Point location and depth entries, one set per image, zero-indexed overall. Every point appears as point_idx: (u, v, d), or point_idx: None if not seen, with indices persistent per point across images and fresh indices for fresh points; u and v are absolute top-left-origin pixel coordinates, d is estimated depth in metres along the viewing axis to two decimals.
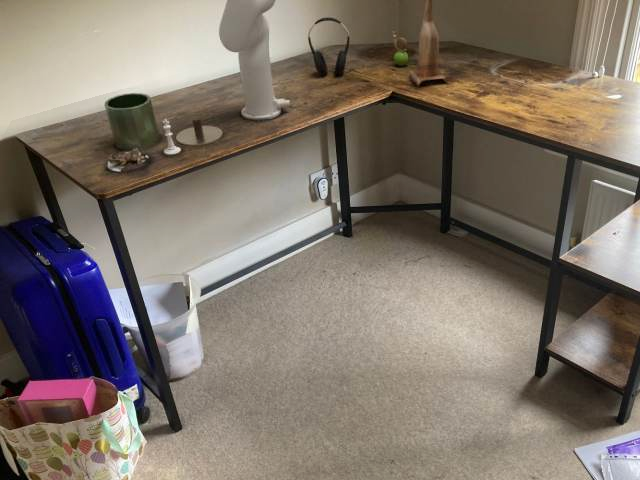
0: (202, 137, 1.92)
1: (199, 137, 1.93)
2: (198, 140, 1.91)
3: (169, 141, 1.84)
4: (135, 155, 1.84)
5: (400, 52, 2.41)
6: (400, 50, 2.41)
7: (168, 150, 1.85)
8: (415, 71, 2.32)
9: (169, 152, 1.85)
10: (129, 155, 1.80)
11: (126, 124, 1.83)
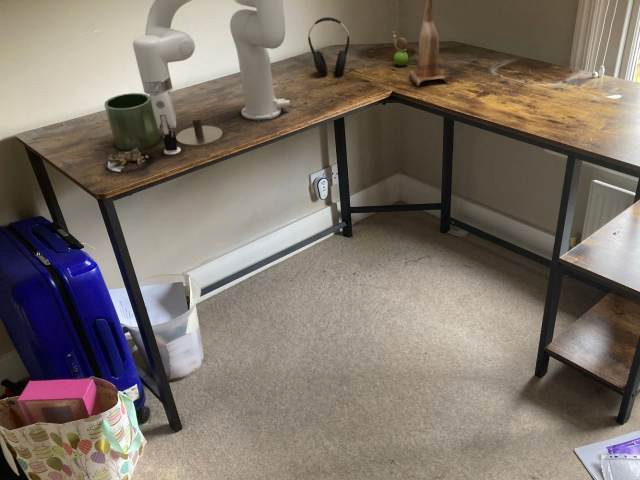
0: (202, 137, 1.92)
1: (199, 137, 1.93)
2: (198, 140, 1.91)
3: None
4: (135, 155, 1.84)
5: (400, 52, 2.41)
6: (400, 50, 2.41)
7: None
8: (415, 71, 2.32)
9: (169, 152, 1.85)
10: (129, 155, 1.80)
11: (126, 124, 1.83)
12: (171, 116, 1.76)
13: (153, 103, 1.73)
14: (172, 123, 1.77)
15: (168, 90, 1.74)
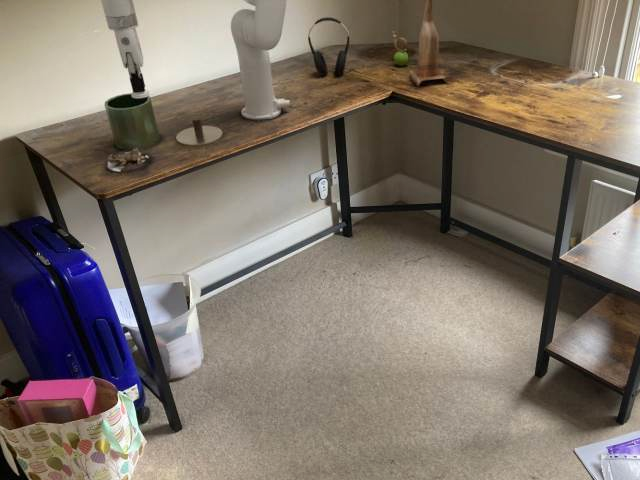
0: (202, 137, 1.92)
1: (199, 137, 1.93)
2: (198, 140, 1.91)
3: None
4: (135, 155, 1.84)
5: (400, 52, 2.41)
6: (400, 50, 2.41)
7: None
8: (415, 71, 2.32)
9: (136, 94, 1.79)
10: (129, 155, 1.80)
11: (126, 124, 1.83)
12: (137, 54, 1.70)
13: (118, 39, 1.68)
14: (138, 61, 1.71)
15: (133, 26, 1.69)
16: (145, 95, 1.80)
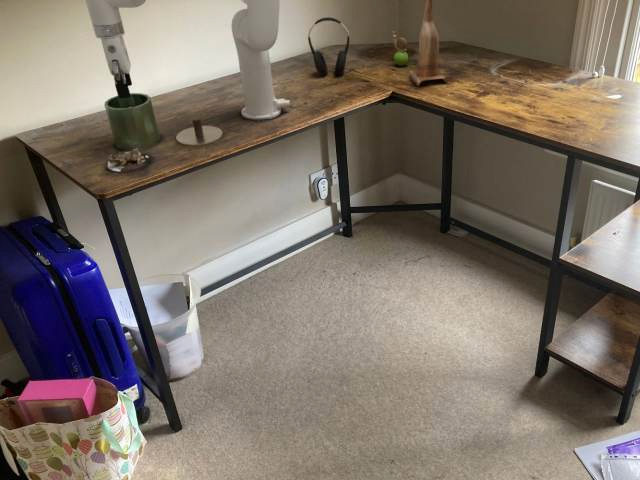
0: (202, 137, 1.92)
1: (199, 137, 1.93)
2: (198, 140, 1.91)
3: None
4: (135, 155, 1.84)
5: (400, 52, 2.41)
6: (400, 50, 2.41)
7: None
8: (415, 71, 2.32)
9: None
10: (129, 155, 1.80)
11: (126, 124, 1.83)
12: (123, 61, 1.75)
13: (104, 47, 1.72)
14: (125, 68, 1.76)
15: (120, 34, 1.73)
16: None
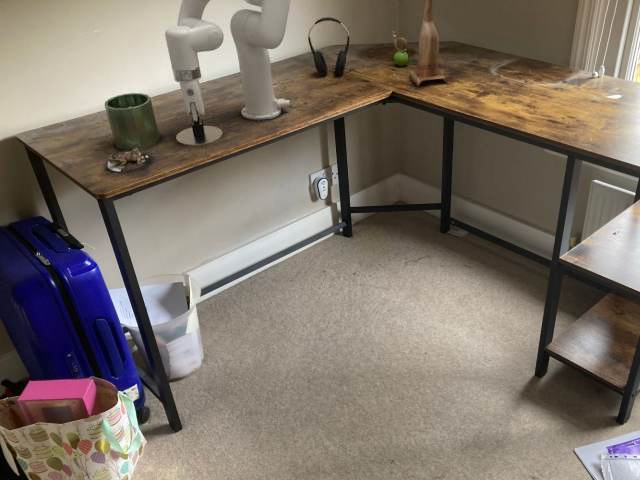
0: (202, 137, 1.92)
1: (199, 137, 1.93)
2: (198, 140, 1.91)
3: None
4: (135, 155, 1.84)
5: (400, 52, 2.41)
6: (400, 50, 2.41)
7: None
8: (415, 71, 2.32)
9: None
10: (129, 155, 1.80)
11: (126, 124, 1.83)
12: (200, 103, 1.84)
13: (183, 91, 1.81)
14: (201, 110, 1.85)
15: (197, 78, 1.82)
16: None
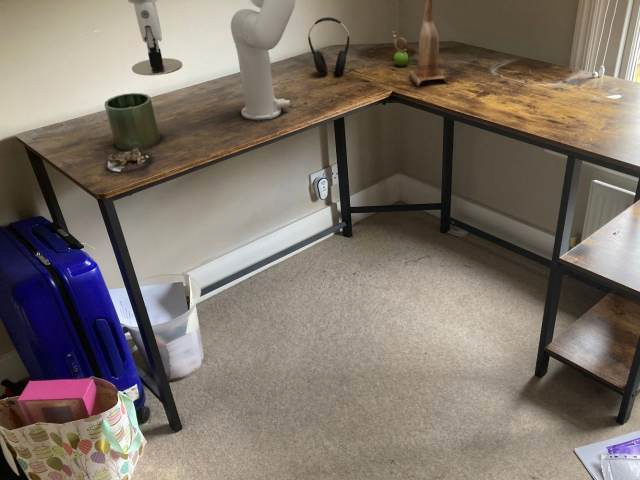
0: (160, 67, 1.79)
1: (157, 67, 1.79)
2: (155, 70, 1.78)
3: None
4: (135, 155, 1.84)
5: (400, 52, 2.41)
6: (400, 50, 2.41)
7: None
8: (415, 71, 2.32)
9: None
10: (129, 155, 1.80)
11: (126, 124, 1.83)
12: (156, 27, 1.71)
13: (138, 12, 1.68)
14: (157, 35, 1.72)
15: (153, 0, 1.69)
16: None
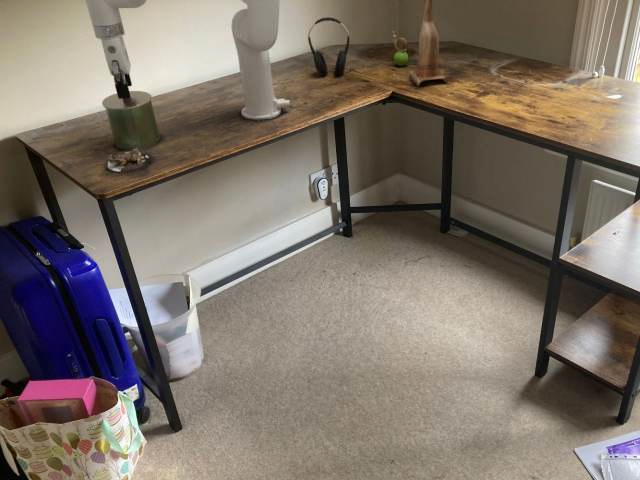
0: (129, 101, 1.84)
1: (126, 101, 1.84)
2: (124, 104, 1.82)
3: None
4: (135, 155, 1.84)
5: (400, 52, 2.41)
6: (400, 50, 2.41)
7: None
8: (415, 71, 2.32)
9: None
10: (129, 155, 1.80)
11: (126, 124, 1.83)
12: (123, 62, 1.75)
13: (104, 48, 1.72)
14: (125, 69, 1.76)
15: (120, 35, 1.73)
16: None
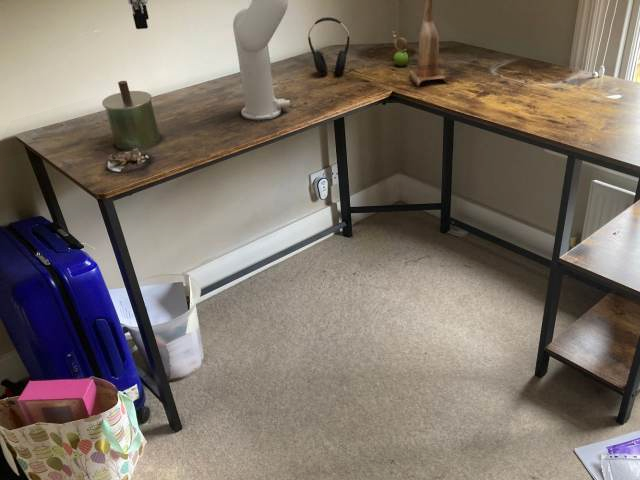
0: (129, 101, 1.84)
1: (126, 101, 1.84)
2: (124, 104, 1.82)
3: None
4: (135, 155, 1.84)
5: (400, 52, 2.41)
6: (400, 50, 2.41)
7: None
8: (415, 71, 2.32)
9: None
10: (129, 155, 1.80)
11: (126, 124, 1.83)
12: None
13: None
14: None
15: None
16: None
